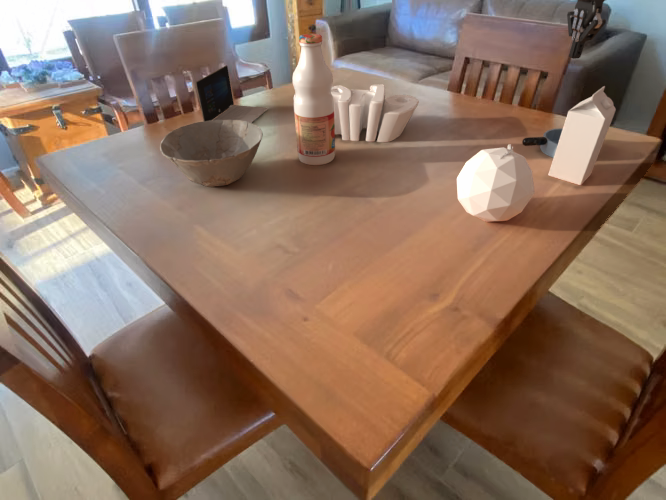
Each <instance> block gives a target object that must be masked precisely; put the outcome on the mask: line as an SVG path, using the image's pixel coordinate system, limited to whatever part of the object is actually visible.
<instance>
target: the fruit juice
mask: <svg viewBox="0 0 666 500" xmlns="http://www.w3.org/2000/svg"><path fill="white" fill-rule="evenodd" d="M298 42H299V43H298V44H299V46H300V54H299V59H298V62H297V66H296V67H295V68H294V70H293V73H292V80H291V81H292V85H293V90H294V92H295V93H296V94H295V93H294V94H295V98H293V113H294V125H295V126H294V127H295V138H296V139H295V140H296V150H297V151H296V153H297V158H298V160H299V162H301V163H303V164H305V165H309V166H323V165H326V164H329V163H331V162H333V161H334V159H335V158H336V157H335V156H336V134H335V125H334V100H333V96H332V94H331V88H332V87H333V83H334V78H333V73H332V70H331V68H329V66H328V65H327V63H326V60H325V59H324V55H323V51H322V45H323V36H322V34H319V33H304V34H300V35H299V37H298Z"/></svg>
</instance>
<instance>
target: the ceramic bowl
mask: <svg viewBox="0 0 666 500" xmlns="http://www.w3.org/2000/svg"><path fill="white" fill-rule="evenodd" d="M263 136H264V135H263V131H262V129H261V127H259V126H258V125H256V124H254V123H253V122H252V123H250V122H246V121H242V120H210V121H203V120H202V121H196V122H192V123H190V124H186V125H183V126H179V128H178V127H177V128H175V129H173V130H172V131H170V132H168V133H167V134H166V135H165V136H164V137H163V139H162V140H161V142H160V145H159V150H160V153H161V155H162V156H163V157H164V158H166V159H167V160H168V161H169V162H171V163H172V164H174V166H176V168H177V169H179V171H180V172H181V173H182V174H183V176H185V178H187V179H188V180H189V181H191V182H192V183H195V184H198V185H200V186H205V187H211V188H212V187H222V186H227V185H230V184H232V183H234V182H236V181H238V180H240V179H241V178H242V177H243V175H244V174H245V173H246V172H247V170H248V169H249V168H250V166H251V165H252V163H253V161H254V159H255V157H256V155H257V152H258V150H259V147H260V145H261V142H262V140H263Z"/></svg>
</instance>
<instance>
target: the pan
mask: <svg viewBox="0 0 666 500" xmlns="http://www.w3.org/2000/svg"><path fill="white" fill-rule="evenodd" d="M562 130H563V127H561V128H552V129H548V130H546V131H545V132H543V135H542V136H530V137H524V138H523V139H522V140H521V141H522V142H521V143H522V145H523V146H525V147H532V146H534V147H535V146H539V147H540V151H541V152H542V154H544V155H546V156H548V157H550V158H554V155H555V152H556V149H557V146H558V142H559V139H560V136H561V133H562Z"/></svg>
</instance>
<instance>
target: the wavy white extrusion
mask: <svg viewBox="0 0 666 500" xmlns="http://www.w3.org/2000/svg"><path fill="white" fill-rule="evenodd" d="M295 94H296V93H294V95H293V99H294V98H295ZM331 94H332V96H333V100H334V125H335V135H341V140H342V141H353V142H359V141H360V136H361V135H360V134H361V132H362V131H363V129H366V134H365V142H369V143H370V142H376V143H389V142H392V141H394V140H396V139H398V138H399V137H400V136H401V135H402V133H403V132H404V130H405V128H406V126H407V124H408V123H409V121H410V119H411V117H412V116H413V114H414V112H415V111H416V109H417V107H418V105H419V103H420V100H419V99H418V98H417V97H415V96H412V95H407V94H394V95H390V96H387V97H386V85H385V84H383V83H381V84H378V83H377V84H371V85H370V86H369V89H355V88H354V89H353V88H351V89H349V88H348V87H346V86H344V85H341V84H339V85H334V86H333V85H332V88H331ZM376 139H377V140H376Z"/></svg>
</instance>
